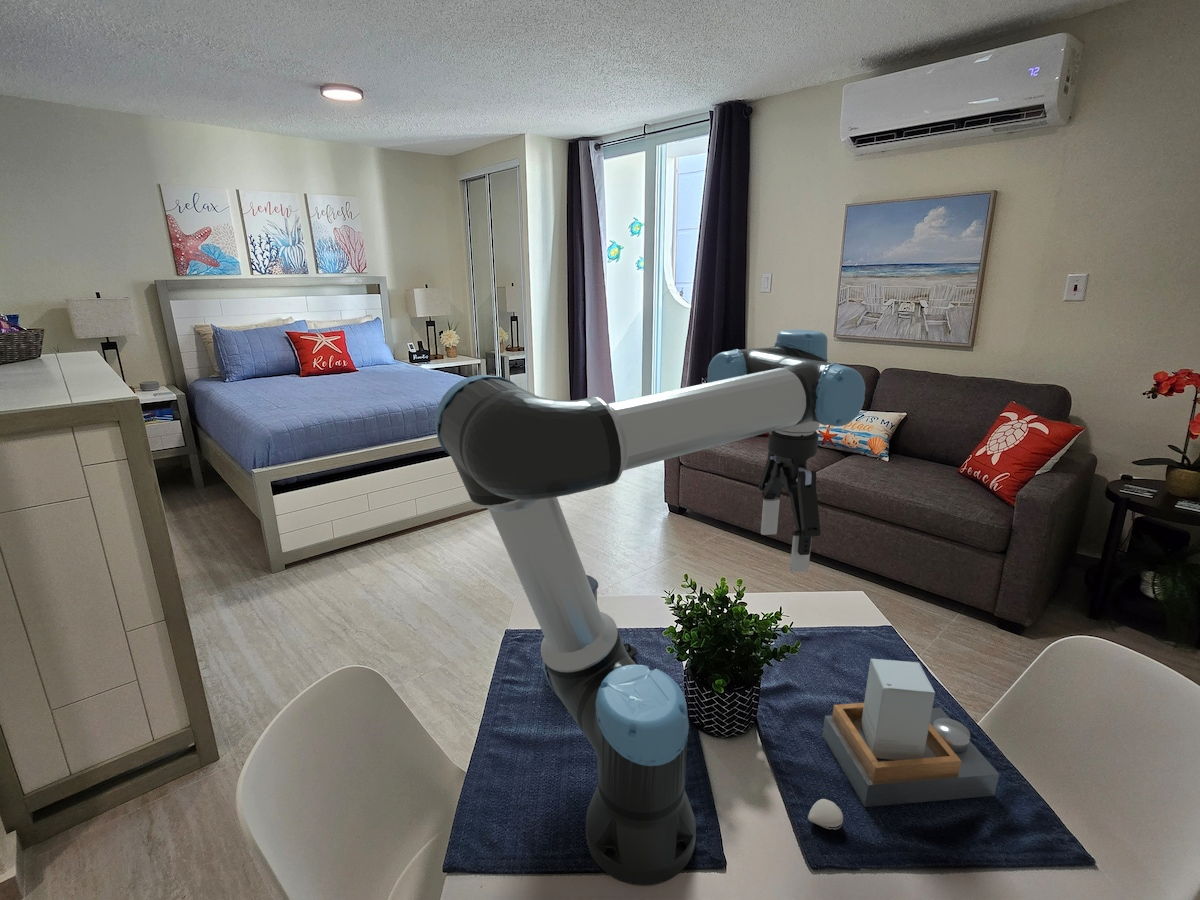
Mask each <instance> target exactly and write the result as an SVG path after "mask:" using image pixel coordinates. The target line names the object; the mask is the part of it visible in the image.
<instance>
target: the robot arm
mask: <svg viewBox="0 0 1200 900" xmlns="http://www.w3.org/2000/svg"><path fill="white" fill-rule="evenodd" d="M775 341H776V342H774V346H768V347H758V348H757V347H756V348H747V349H746V348H744V349H738V348H734V349H732V350H728V351H722V352H719V353H717V354H716V355H714V357H712V359H711V360H710V362H709V364H708V366H707V367H708V368H707V378H706V381H707V382H704V383H700V384H696V385H691V386H686V387H682V388H677V389H671V390H667V391H662V392H657V393H651V394H647V395H643V396H638V397H637V396H636V397H634V398H633V397H632V398H629V399H628V398H627V399H623V400H619V401H618V400H617V401H614V402H609V403H607V402H605V400H603V399H601V398H600V397H599V396H590V397H586V398H582V399H576V400H575V399H574V400H560V399H551V398H546V397H543V396H538V395H536V394H534V393H532V392H530V391H528V390H527V389H524V388H521V387H520V386H518V385H517V384H516V383H514V382H513V381H511V380H510V379H508V378H505V377H502V376H497V375H489V374H477V375H473V376H468V377H467V378H464V379H461V380H459V381H458V382H456V383H455V384H454V385H452V386H451V387H450V388H448V389H447V391H446V392H445V394H444V395H443V396H442V398H441V400H440V402H439V404H438V406H437V408H436V412H435V416H434V428H435V432H436V436H437V440H438V442H439V445H440V446H441V448H442V450H444V452H445V453H446V454H447V455H449V456H450V457H451V459H452V461H453V463H454V465H455V468H456V470H457V471H458V474H459V476H460V479H461V480H462V481H461V482H462V483H463V485H464V487H465V490H466V491H467V493H468V496H469V499H470V500H471V502H472V504H475V505H476V506H478V507H482V508H485V509H488V511H489V513H490V515H491V518H492V520H493V522H494V524H495V527H496V529H497V531H498V534H499V536H500V538H501V540H502V543H503V545H504V547H505V550H506V552H507V554H508V557H509V559H510V561H511V563H512V565H513V568H514V570H515V572H516V575H517V577H518V579H519V581H520V584H521V586H522V588H523V590H524V593H525V595H526V597H527V600H528V602H529V604H530V607H531V608H532V611H533V613H534V616H535V618H536V620H537V622H538V625H539V626H540V630H541V632H542V634H543V636H544V637H543V638H542V640H541V645H540V655H541V659H542V667H543V672H544V674H545V675H544V676H545V678H546V680H547V681H546V682H547V683H548V684H549V687H550V688H551V690H552V691H553V692H554V693H555V694H556V696H557V697H558V698H559V700H560V701H561V702H562V704H563V705H564V707H565V708H566V710H567V711H568V713H569V714H570V715H571V717H572V719H574V721H575V723H576V724H577V725H578V727H579V728H580V730H581V731H582V733H583V734H584V736H585V738H586V739H587V740H588V742H589V743H590V745H591V746H592V748H593V750H594V752H595V755H596V757H597V785H596V788H595V790H594V792H593V795H592V798H591V800H590V802H589V805H588V808H587V810H586V816H585V841H586V840H587V841H586V845H588V846H587V849H588V848H589V849H588V851H589V853H590V856H591V857H592V859H593V860H594V862H595V863H596V864H597V866H598V867H599V868H600V869H602V870H603V871H604V872H605V873H606V874H608V875H610V877H612V878H614V879H616V880H618V881H621V882H623V883H626V884H630V885H636V886H637V885H638V886H651V885H656V884H661V883H664V882H666V881H669V880H670V879H672V878H675V876H677V875H678V874H680V872H682V871H683V870H684V869H685V867H686V866H687V865H688V864H689V862H690V860H691V859H692V856H693V854H694V851H695V846H696V835H697V834H696V828H697V827H696V824H697V823H696V818H695V815H694V812H693V811H694V810H693V809H692V806H691V803H690V801H689V797H688V795H687V792H686V789H685V788H686V787H685V781H686V770H687V769H686V768H687V765H686V764H687V751H688V738H689V736H688V734H689V731H690V728H689V727H690V724H689V723H690V722H689V718H688V717H689V715H688V706H687V705H688V704H687V702H686V698H685V695H684V692H683V691H682V689H681V688H680V686H679V684H678V683H677V682H676V681H675V679H673V678H672V677H671V676H670V675H669V674H667V673H665V672H664V671H662V670H661V669H658V668H654V669H653V670H652V669H650V666H649V665H644V664H637V663H636V662H635V661H634V660H633V659H632V657H631V658H630V656H629V655H628V653H627V652H626V650H625V647H624V645H623V644H624V642H623V640H622V637H621V635H620V632H619V631H620V630H619V629H618V627H617V624H616V622H615V620H614V619H613V617H611V616H610V615H609V614H608V613H605V612H603V611H601V610H600V608H599V605H598V601H597V602H596V600H595V597H594V594H593V592H592V589H591V586H590V584H589V581H588V578H587V576H586V575H587V574H586V570H585V568H584V565H583V562H582V560H581V557H580V554H579V553H578V549H577V547H576V545H575V542H574V538H573V537H572V534H571V531H570V529H569V526H568V523H567V520H566V518H565V515H564V512H563V510H562V507H561V504H560V502H559V499H558V497H564V496H569V495H574V494H579V493H582V492H585V491H586V492H588V491H590V490H595V489H598V488H601V487H605V486H606V487H607V486H608V485H612V484H616V483H617V482H618V480H620V479H621V476H622V474H623V472H624V471H628V470H631V469H635V468H640V467H643V466H647V465H651V464H655V463H658V462H662V461H665V460H670V459H673V458H677V457H680V456H685V455H687V454H691V453H692V454H693V453H695V452H699V451H703V450H707V449H711V448H715V447H719V446H721V445H726V444H730V443H733V442H737V441H740V440H745V439H748V438H752V437H753V438H754V437H757V436H759V435H763V434H767V433H768V443H767V444H768V445H767V450H768V452H767V459H766V463H765V465H764V468H763V471H762V475H761V478H760V481H759V484H758V490H759V491H760V492H761V496H762V498H763V500H762V509H761V510H762V511H761V523H760V534H761V535H762V536H766V535H777V534H778V526H779V525H778V524H779V512H780V503H781V502H780V501H781V500H780V499H779V498H782V494H781V492H782V490H783V488H784V489H785V490H784V491H785V493H786V494H787V495H789V500H790V505H791V511H792V515H793V521H794V525H795V530H794V531H792V532H791V534H792V535H791V536H792V543H791V545H792V546H791V552H790V554H791V555H790V564H789V565H790V566H789V571H790V572H791V573H797V572H808V571H809V569H810V568H809V567H810V560H811V559H810V558H811V549H812V548H811V547H812V541H813V540H812V539H813V538H812V537H820V536H821V523H820V514H819V502H818V496H817V495H818V493H817V471H816V470H808V468H807V461H808V460H809V459H810V458H814V457H815V456H816V455H817V452H818V446H819V437H820V436H819V433H818V432H817V431H818V430H819V429H820V425H822V426H832V427H843V426H846V425H848V424H850V423H851V422H852V421H853V420H855V419H856V418H857V417H858V415H859V414H860V412H861V411H862V408H863V406H864V405H865V404H864V402H865V400H866V397H865V395H866V383H865V381H864V378H863V376H862V374H861V373H860V372H859V371H858V370H856V369H855V368H853V367H849V366H845V365H843V364H839V363H836V362H828V336H827V334H825V333H824V332H821V331H819V330H810V329H786V330H781V331H780V332H778V333H777V335H776V340H775Z"/></svg>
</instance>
